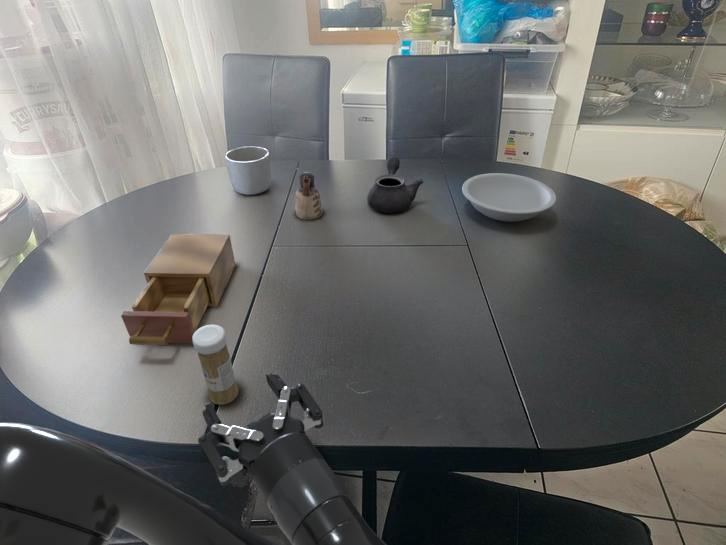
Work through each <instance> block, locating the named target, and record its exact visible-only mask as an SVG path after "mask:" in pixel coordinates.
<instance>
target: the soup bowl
mask: <svg viewBox="0 0 726 545" xmlns="http://www.w3.org/2000/svg"><path fill="white" fill-rule="evenodd" d="M461 191H462V194H463V196H464V197H465V198H466V199H467V200H468V201H469V202H470V203H471V205H472V206H473V207H474V209H475V210H477V212H479V213H481V214H482V215H484V216H485V217H488V218H490V219H493V220H496V221H500V222H506V223H507V222H509V223H511V222H514V223H515V222H523V221H527V220H530V219H532V218H534V217H536V216H538V215H539V214H541V213H542V212H545V211H547V210H549V209H551V208H552V207H553V206H554V205H555V204H556V202H557V196H556V193H555V191H554V190H553V189H552V188H551V187H550V186H549V185H547V184H546V183H543V182H541V181H539V180H537V179H534V178H531V177H528V176H524V175H519V174H516V173H515V174H514V173H506V172H504V173H503V172H494V173H493V172H491V173H482V174H477V175H474V176H472V177H470V178H468V179H467V180H465V181H464V183H463V184H462V187H461Z"/></svg>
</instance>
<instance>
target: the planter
mask: <svg viewBox="0 0 726 545" xmlns="http://www.w3.org/2000/svg"><path fill="white" fill-rule="evenodd" d="M224 159H225V164H226V168H227V172H228V177H229V181H230V184H231V187H232V189H234V191H235V192H237V193H238V194H241V195H244V196H245V195H246V196H252V195H259V194H262V193H264V192H265V191H267V190H268V189H269V188H270V186H271V183H272V170H271V160H270V151H269V150H268V149H266V148H264V147H262V146H241V147H236V148H233V149H231V150H229V151H227V152H226V153H225V155H224Z"/></svg>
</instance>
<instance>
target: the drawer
mask: <svg viewBox="0 0 726 545" xmlns="http://www.w3.org/2000/svg"><path fill="white" fill-rule="evenodd" d="M146 284H147V283H146ZM210 299H211V296H210V292H209V288H208V284H207V281H206V277H159V276H153V277H152V279H151V280H150V282H149V283H148V284H147V285H146V286H145V287H144V289H143V290H142V292H141V293H140V294H139V295H138V297H137V299H136V300H135V302H134V303H133V305H132V306H131V309H132V310H124V311H123V312H122V313H121V315H120V317H121V319H122V321H123V324H124V326H125V329H126V331H127V334H128V337H129V338H128V342H129V344H130V345H149V346H150V345H151V346H166V345H168V343H171V344H172V343H173V344H174V343H177V344H178V343H179V344H183V343H184V344H193V341H192V337H193V334H194V333H195V332H196V331H197V329H198V327H199V324H200V321H201V320H202V318H203V316H204V314H205V311H206V310H207V308H208V306H207V305H208V303H209V301H210Z"/></svg>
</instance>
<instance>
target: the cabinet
mask: <svg viewBox="0 0 726 545" xmlns="http://www.w3.org/2000/svg"><path fill="white" fill-rule="evenodd" d="M236 264H237V263H236V259H235V256H234V250H233V246H232V240H231V236H230V234H214V233H213V234H212V233H211V234H206V233H203V234H202V233H171V235H170V236H169V238H168V239H167V240H166V241H165V243H164V244H163V245H162V247H161V249H160V250H159V251H158V253H157V254H156V255H155V257H154V258H153V260H152V261H151V262H150V263H149V265H148V267H147V268H146V269H145V270H144V272H143V276H144V278H145V281H146V284H148V283H149V282H150V280H151V279H152V277H153V276H159V277H206V281H207V284H208V288H209V292H210V296H211V299H210V301H209V303H208V305H207V307H215V308H216V307H218V305H219V303H220V301H221V298H222V295H223V294H224V292H225V291H226V290H225V289H226V287H227V285H228V283H229V281H230V279H231V277H232V274H233V272H234V270H235V267H236Z"/></svg>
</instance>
